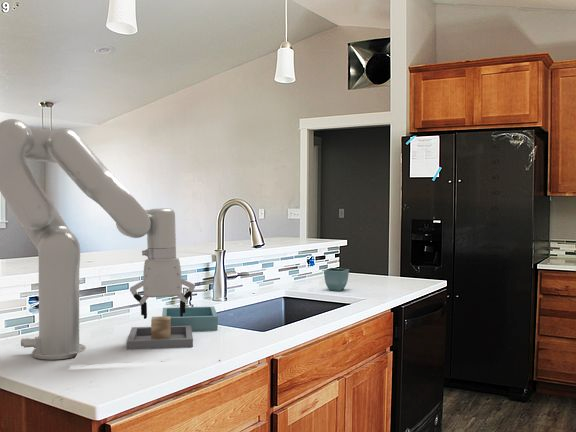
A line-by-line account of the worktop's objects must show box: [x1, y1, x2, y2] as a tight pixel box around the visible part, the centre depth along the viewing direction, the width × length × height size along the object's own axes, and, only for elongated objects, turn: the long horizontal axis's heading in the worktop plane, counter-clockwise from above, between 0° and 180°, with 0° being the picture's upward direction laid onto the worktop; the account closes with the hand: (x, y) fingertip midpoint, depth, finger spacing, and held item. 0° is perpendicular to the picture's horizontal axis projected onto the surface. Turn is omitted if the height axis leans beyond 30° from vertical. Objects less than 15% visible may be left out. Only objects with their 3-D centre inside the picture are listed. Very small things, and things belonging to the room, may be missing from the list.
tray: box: [161, 306, 219, 332], centre depth 177 cm, size 16×16×5 cm
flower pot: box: [323, 267, 350, 292], centre depth 254 cm, size 9×9×9 cm
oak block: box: [150, 315, 171, 339], centre depth 158 cm, size 5×5×6 cm
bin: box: [126, 325, 194, 351], centre depth 158 cm, size 17×17×3 cm
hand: (163, 316), depth 158 cm, fingers open, 9 cm apart
